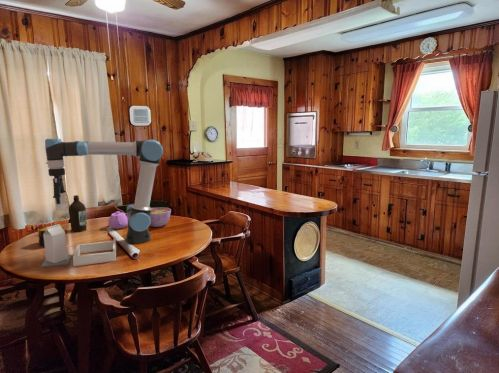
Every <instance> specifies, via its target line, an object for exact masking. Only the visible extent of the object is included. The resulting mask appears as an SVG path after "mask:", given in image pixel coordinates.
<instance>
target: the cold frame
mask: <svg viewBox="0 0 499 373" xmlns="http://www.w3.org/2000/svg"><path fill="white" fill-rule="evenodd" d="M116 238H117V237H116V236H114V237H113V240H109V241H100V242H92V243H82V244H77V246H76V248H75V251H74V252H73V256H72V264H73V267H80V266H86V265H87V266H88V265H93V264H102V263H110V262H116V261H117V239H116ZM111 250H112V251H111ZM104 251H106V252H104ZM96 252H97V253H96ZM98 252H99V253H98ZM87 253H89V254H87ZM90 253H91V254H90ZM83 254H84V255H83Z"/></svg>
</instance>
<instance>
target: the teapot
mask: <svg viewBox="0 0 499 373" xmlns="http://www.w3.org/2000/svg"><path fill="white" fill-rule="evenodd" d="M108 226H109V228H110V227H111V228H110V229H112V228H113V229H112V230H116V229H117V230H118V229H125V228H126V227H128V219H127V214H126V213H125V212H123V211H122V212H121V211H119V210H118V211H115V212H113V213H111V215H110V217H109V219H108Z"/></svg>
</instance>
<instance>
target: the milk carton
mask: <svg viewBox="0 0 499 373" xmlns="http://www.w3.org/2000/svg"><path fill="white" fill-rule="evenodd" d="M49 226H50V227H49ZM49 226H46V227H47V230H46V231H45V232H44V234H43V236H44V245H45V246H44V252H45V253H44V254H45V259H46V261H48V262H51V263H57V262H60V261H63V260H65V259H68V258H67V255H68V249H67V239H66V231H65V229H64V230H63V229H62V227H63V226H61V223H58V224H54V225H49Z"/></svg>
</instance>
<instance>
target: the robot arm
mask: <svg viewBox="0 0 499 373" xmlns="http://www.w3.org/2000/svg"><path fill="white" fill-rule="evenodd" d="M44 144H45V145H44V146H45V147H44V148H45V156H46V162H45V164H46V165H47V168H49V169H48V170H47V171H48V176H49V177H53V178H52V182H53V183H52V184H53V196H52V198H53V199H54V203H55V211H61V210H63V206H65V205H66V196H65V194H66V190H65V186H64V181H63V176H65V175H66V168H65V161H64V160H65V159H64V157H84V156H87V155H91V156H92V155H95V156H96V155H99V156H100V155H101V156H103V155H104V156H105V155H106V156H108V155H109V156H110V155H111V156H114V155H115V156H116V155H118V156H133V157H136V158H137V157H139V159H138V162H139V163H140V170H139V173H138V174H139V176H138V180H137V186H136V193H135V198H134V199H135V200H134V204H129V205H127V206H126V216H127V219H128V225H127V232H126V235H125V242H126V241H127V242H126V243H128V244H144V243H146V242H148V241H150V240H151V239H152V238H151V233H150V231H149V230H150V229H149V227H150V226H151V225H150V223H151V219H150V215H151V208H152V207H151V206H150V204H151V199H152V198H151V197H152V195H153V194H152V193H153V188H154V182H155V176H156V171H157V167H158V166H159V165H160V162H161V157H162V156H163V152H164V149H163V146H162V144H161V143H160V141H157V140H155V139H144V140H134V141H133V142H127V141H123V142H122V141H81V140H80V141H79V140H75V141H66V142H65V141H62V139H61V138H46V139H45V140H44Z"/></svg>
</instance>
